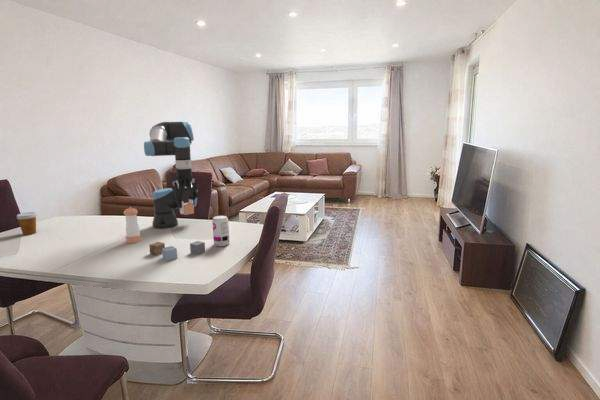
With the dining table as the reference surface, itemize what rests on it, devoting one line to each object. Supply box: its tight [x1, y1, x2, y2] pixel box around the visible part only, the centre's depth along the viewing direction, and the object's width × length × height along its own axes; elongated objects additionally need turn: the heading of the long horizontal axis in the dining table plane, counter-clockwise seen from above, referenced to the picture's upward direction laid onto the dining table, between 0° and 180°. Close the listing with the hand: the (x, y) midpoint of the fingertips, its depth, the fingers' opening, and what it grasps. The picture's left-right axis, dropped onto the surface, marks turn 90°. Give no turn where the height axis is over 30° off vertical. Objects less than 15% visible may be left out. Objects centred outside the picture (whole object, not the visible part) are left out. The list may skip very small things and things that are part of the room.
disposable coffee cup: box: [16, 211, 37, 236], centre depth 208 cm, size 10×10×12 cm
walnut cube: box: [148, 241, 166, 257], centre depth 175 cm, size 5×5×5 cm
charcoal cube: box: [189, 240, 206, 256], centre depth 175 cm, size 5×5×5 cm
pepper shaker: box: [123, 206, 142, 244], centre depth 192 cm, size 7×7×19 cm
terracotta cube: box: [183, 203, 195, 216], centre depth 183 cm, size 5×5×5 cm
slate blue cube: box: [161, 245, 178, 262], centre depth 168 cm, size 5×5×5 cm
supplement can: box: [211, 215, 230, 247], centre depth 186 cm, size 8×8×15 cm
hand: (187, 212), depth 183 cm, fingers closed on terracotta cube, 5 cm apart
